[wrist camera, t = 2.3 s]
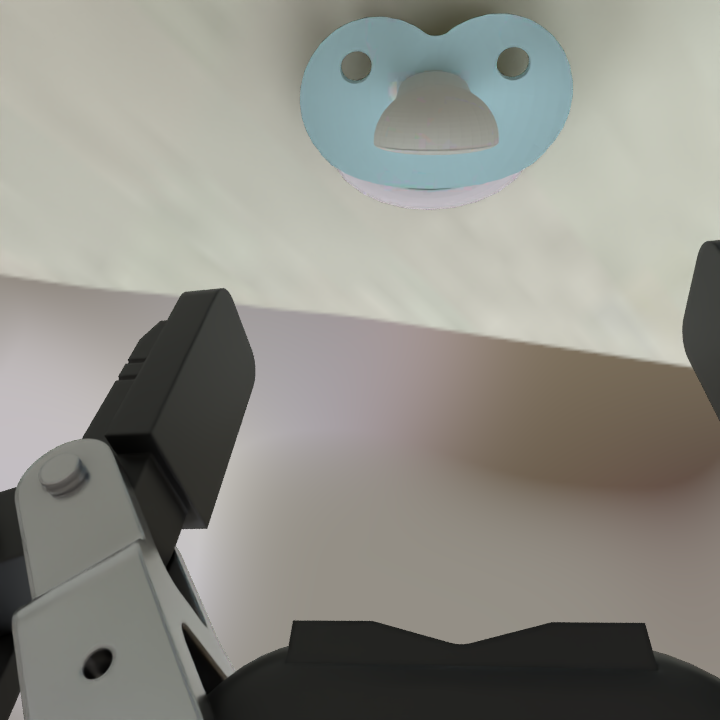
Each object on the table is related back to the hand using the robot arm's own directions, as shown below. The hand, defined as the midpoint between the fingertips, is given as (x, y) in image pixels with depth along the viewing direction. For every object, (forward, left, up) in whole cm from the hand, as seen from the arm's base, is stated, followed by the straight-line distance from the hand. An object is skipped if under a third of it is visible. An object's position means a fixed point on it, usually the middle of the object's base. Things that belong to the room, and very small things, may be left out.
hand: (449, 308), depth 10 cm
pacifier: (0, 0, -11) cm, 11 cm away
